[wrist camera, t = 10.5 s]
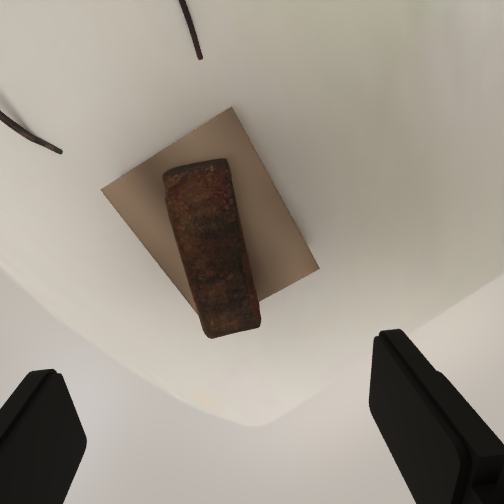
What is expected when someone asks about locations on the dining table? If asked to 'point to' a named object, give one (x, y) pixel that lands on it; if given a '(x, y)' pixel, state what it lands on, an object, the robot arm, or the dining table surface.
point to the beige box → (247, 197)
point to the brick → (212, 246)
